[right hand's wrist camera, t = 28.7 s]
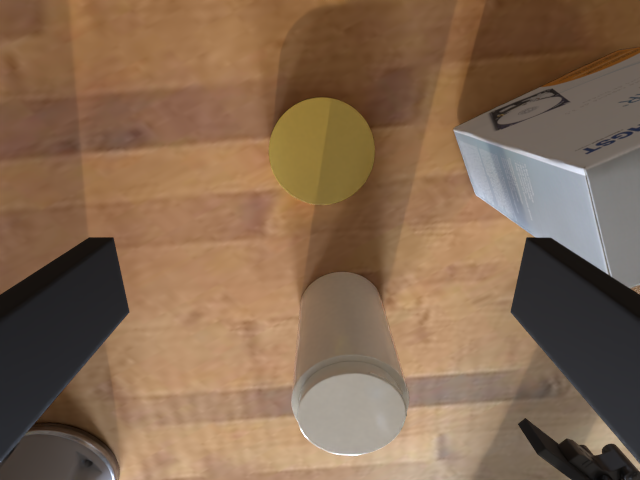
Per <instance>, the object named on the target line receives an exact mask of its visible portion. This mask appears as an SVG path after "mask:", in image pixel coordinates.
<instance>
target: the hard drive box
mask: <svg viewBox="0 0 640 480" xmlns="http://www.w3.org/2000/svg"><path fill="white" fill-rule="evenodd" d="M454 133H455V136H456V139H457V142H458V145H459V148H460V151H461V154H462V157H463V160H464V163H465V166H466V169H467V172H468V175H469V178H470V181H471V184H472V186H473V189H474V192H475V194H476V196H478V197H480V198H481V199H482V200H484V201H485V202H487V203H488V204H489V205H491V206H492V207H494V208H495V209H497V210H498V211H499V212H501V213H502V214H503V215H505V216H506V217H508V218H509V219H510V220H512V221H513V222H515V223H516V224H518V225H519V226H520V227H522V228H523V229H525V230H526V231H527V232H529V233H530V234H532V235H533V236H534V237H536V238H552V239H554V240H555V241H557V242H558V243H560V244H562V245H563V246H565V247H566V248H568V249H569V250H571V251H572V252H574V253H576V254H577V255H579V256H580V257H582V258H583V259H585V260H586V261H588V262H589V263H591V264H593V265H594V266H596V267H597V268H599V269H600V270H602V271H603V272H605V273H607V274H608V275H610V276H611V277H613V278H614V279H616V280H617V281H619V282H621V283H622V284H624V285H625V286H627V287H628V288H632V287H635V286H638V285H640V47H635V48H629V49H621V50H618V51H616V52H613V53H611V54H609V55H607V56H605V57H603V58H600V59H598V60H596V61H594V62H592V63H590V64H587V65H585V66H583V67H581V68H579V69H577V70H574V71H572V72H570V73H568V74H566V75H564V76H562V77H560V78H558V79H556V80H554V81H552V82H549V83H547V84H545V85H543V86H541V87H539V88H537V89H535V90H533V91H530V92H528V93H526V94H524V95H522V96H520V97H518V98H516V99H513V100H511V101H509V102H507V103H505V104H503V105H500V106H498V107H496V108H494V109H492V110H490V111H488V112H486V113H483V114H481V115H479V116H477V117H475V118H473V119H471V120H469V121H467V122H465V123H463V124H461V125H458V126H456V127H455V128H454Z"/></svg>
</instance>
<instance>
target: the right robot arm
mask: <svg viewBox="0 0 640 480" xmlns="http://www.w3.org/2000/svg"><path fill="white" fill-rule="evenodd" d="M128 313H129V308H128V303H127V299H126V294H125V289H124V285H123V280H122V275H121V271H120V266H119V261H118V257H117V252H116V247H115V243H114V238H88V239H86V240H85V241H83V242H82V243H80V244H78V245H77V246H75V247H74V248H72V249H71V250H69V251H68V252H66V253H64V254H63V255H61V256H60V257H58V258H57V259H55V260H54V261H52V262H51V263H49V264H47V265H46V266H44V267H43V268H41V269H40V270H38V271H37V272H35V273H33V274H32V275H30V276H29V277H27V278H26V279H24V280H23V281H21V282H19V283H18V284H16V285H15V286H13V287H12V288H10V289H9V290H7V291H6V292H4V293H2V294H1V295H0V480H119V475H120V471H119V465H118V462H117V460H116V458H115V456H114V455H113V453H112V452H111V450H110V449H109V448H108V447H107V446H106V445H105V444H104V443H102V442H101V441H100V440H99V439H97V438H96V437H94V436H92V435H91V434H89V433H87V432H85V431H83V430H80V429H77V428H75V427H71V426H67V425H62V424H55V423H41V424H34V423H35V422H36V421H37V420H38V419H39V417H40V416H41V415H42V414H43V413H44V412H45V410H46V409H47V408H48V407H49V406H50V405H51V403H52V402H53V401H54V400H55V399H56V398H57V396H58V395H59V394H60V393H61V392H62V391H63V389H64V388H65V387H66V386H67V385H68V384H69V382H70V381H71V380H72V379H73V378H74V376H75V375H76V374H77V373H78V372H79V371H80V369H81V368H82V367H83V366H84V365H85V364H86V362H87V361H88V360H89V359H90V358H91V357H92V355H93V354H94V353H95V352H96V351H97V350H98V348H99V347H100V346H101V345H102V344H103V342H104V341H105V340H106V339H107V338H108V337H109V335H110V334H111V333H112V332H113V331H114V330H115V328H116V327H117V326H118V325H119V324H120V323H121V321H122V320H123V319H124V318H125V317H126V316H127V314H128ZM511 313H512V314H513V316H514V317H515V318H516V319H517V320H518V321H519V323H520V324H521V325H522V326H523V327H524V328H525V330H526V331H527V332H528V333H529V334H530V335H531V337H532V338H533V339H534V340H535V341H536V342H537V344H538V345H539V346H540V347H541V348H542V350H543V351H544V352H545V353H546V354H547V355H548V357H549V358H550V359H551V360H552V361H553V362H554V364H555V365H556V366H557V367H558V368H559V369H560V371H561V372H562V373H563V374H564V375H565V376H566V378H567V379H568V380H569V381H570V382H571V384H572V385H573V386H574V387H575V388H576V389H577V391H578V392H579V393H580V394H581V395H582V396H583V398H584V399H585V400H586V401H587V402H588V403H589V405H590V406H591V407H592V408H593V409H594V410H595V412H596V413H597V414H598V415H599V416H600V417H601V419H602V420H603V421H604V422H605V423H606V425H607V426H608V427H609V428H610V429H611V430H612V432H613V433H614V434H615V435H616V436H617V437H618V439H619V440H620V441H621V442H622V443H623V444H624V446H625V447H626V448H627V449H628V450H629V451H630V453H631V454H632V455H633V456H634V457H635V458H636V460H637V461H638V462H639V463H640V295H639V294H638V293H636V292H634V291H633V290H631V289H630V288H628V287H627V286H625V285H624V284H622V283H621V282H619V281H617V280H616V279H614V278H613V277H611V276H610V275H608V274H607V273H605V272H603V271H602V270H600V269H599V268H597V267H596V266H594V265H593V264H591V263H589V262H588V261H586V260H585V259H583V258H582V257H580V256H579V255H577V254H576V253H574V252H572V251H571V250H569V249H568V248H566V247H565V246H563V245H562V244H560V243H558V242H557V241H555V240H554V239H552V238H526V243H525V247H524V252H523V257H522V261H521V266H520V271H519V275H518V280H517V285H516V289H515V294H514V299H513V303H512V308H511Z"/></svg>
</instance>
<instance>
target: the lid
mask: <svg viewBox="0 0 640 480" xmlns="http://www.w3.org/2000/svg"><path fill="white" fill-rule="evenodd" d="M374 157H375V145H374V139H373V135H372V132H371V130H370V127H369V125H368V124H367V122H366V120H365V119H364V118H363V117H362V115H361V114H360V113H359V112H358V111H357V110H356V109H354V108H353V107H352V106H350V105H348V104H347V103H345V102H343V101H340V100H338V99H334V98H329V97H314V98H310V99H306V100H303V101H301V102H299V103H297V104H295V105H294V106H292V107H291V108H290V109H288V110H287V111H286V112H285V113H284V114H283V115H282V116H281V118H280V119H279V120H278V122H277V123H276V125H275V127H274V129H273V132H272V134H271V138H270V143H269V160H270V164H271V168H272V171H273V173H274V175H275V177H276V179H277V181H278V182H279V184H280V185H281V186H282V187H283V188H284V189H285V190H286V191H287V192H288V193H289V194H290V195H292V196H293V197H295V198H297V199H299V200H301V201H303V202H306V203H310V204H315V205H329V204H334V203H337V202H340V201H343V200H345V199H347V198H349V197H350V196H352V195H353V194H354V193H356V192H357V191H358V190H359V189H360V188H361V187H362V186H363V184H364V183H365V182H366V180H367V178H368V177H369V175H370V172H371V170H372V167H373V163H374Z"/></svg>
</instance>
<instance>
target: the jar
mask: <svg viewBox="0 0 640 480" xmlns="http://www.w3.org/2000/svg"><path fill="white" fill-rule="evenodd" d="M291 402H292V409H293V413H294V415H295V418H296V420H297V421H298V423H299V426H300V429H301V431H302V432H303V434H304V435H305V437H306V438H307V439H308V440H309V441H310V442H311V443H313V444H314V445H315V446H317V447H319V448H321V449H322V450H325V451H327V452H331V453H334V454H340V455H361V454H366V453H370V452H373V451H376V450H378V449H380V448H382V447H384V446H386V445H387V444H388V443H390V442H391V441H392V440H393V439H394V438H395V437H396V436H397V435H398V434H399V432H400V431H401V429H402V427H403V425H404V422H405V418H406V416H407V409H408V405H409V391H408V388H407V384H406V381H405V377H404V374H403V371H402V367H401V364H400V360H399V357H398V353H397V350H396V347H395V343H394V340H393V336H392V333H391V330H390V326H389V323H388V319H387V316H386V313H385V309H384V306H383V302H382V299H381V296H380V293H379V291H378V290H377V288H376V287H375V286H374V285H373V284H372V283H371V282H370V281H369V280H367V279H366V278H364V277H362V276H360V275H358V274H355V273H350V272H334V273H330V274H326V275H324V276H322V277H320V278H318V279H316V280H315V281H314V282H312V283H311V284H310V285H309V286H308V288H307V289H306V290H305V292H304V294H303V296H302V298H301V302H300V312H299V323H298V334H297V345H296V356H295V367H294V377H293V388H292V399H291Z"/></svg>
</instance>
